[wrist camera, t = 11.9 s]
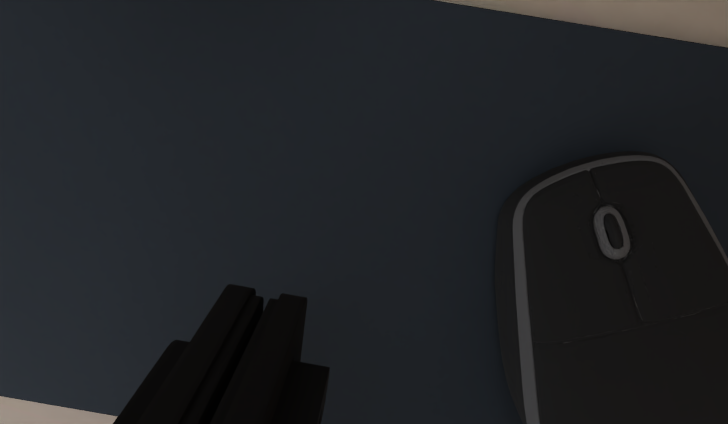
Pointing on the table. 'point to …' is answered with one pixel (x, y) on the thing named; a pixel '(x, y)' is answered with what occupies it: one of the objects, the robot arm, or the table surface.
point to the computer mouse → (612, 296)
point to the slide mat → (307, 181)
